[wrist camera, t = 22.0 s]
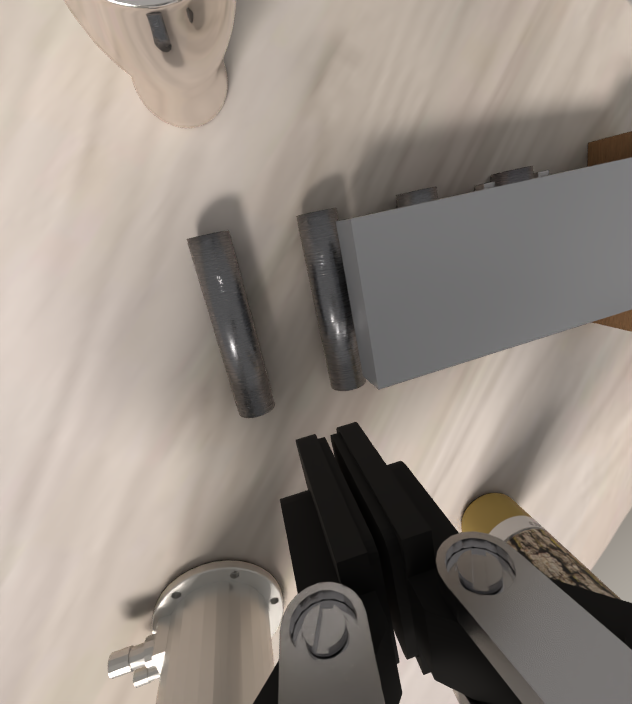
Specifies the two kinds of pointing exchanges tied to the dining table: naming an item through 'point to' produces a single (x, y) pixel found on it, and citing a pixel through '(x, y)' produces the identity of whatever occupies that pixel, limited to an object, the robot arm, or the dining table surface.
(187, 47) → the beer glass
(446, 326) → the slab
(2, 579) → the dining table surface
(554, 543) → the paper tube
